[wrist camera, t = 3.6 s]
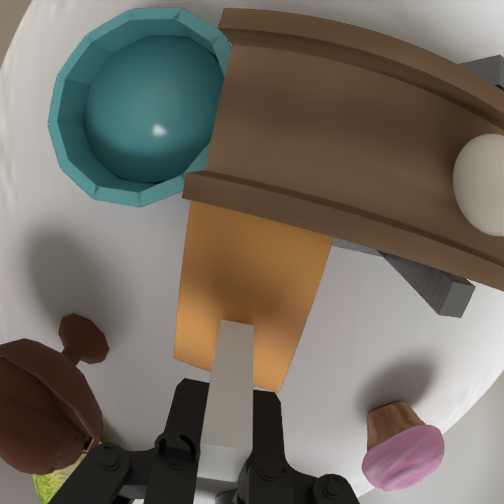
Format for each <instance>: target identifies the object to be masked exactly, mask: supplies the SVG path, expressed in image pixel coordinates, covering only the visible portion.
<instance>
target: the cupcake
mask: <svg viewBox="0 0 504 504" xmlns="http://www.w3.org/2000/svg"><path fill="white" fill-rule="evenodd" d="M367 431H368V432H367V433H368V436H367V438H368V441H367V453H366V455H365V457H364V459H363V463H362V471H363V473H364V475H365V477H366V478H367V479H368V481H369V482H370V483H371V484H372V485H373V486H375V487H376V488H380V489H383V490H384V491H392V490H398V489H403V488H406V487H409V486H412V485H414V484H416V483H418V482H420V481H421V480H422V479H423V478H425V477H426V476H428V475H429V474H430V473H432V472H433V471H434V470H436V468H437V467H438V466H439V465H440V463H441V461H442V458H443V455H444V440H443V437H442V434H441V432H440V430H439V429H438V428H436V427H435V426H432V425H426V424H425V423H424V422H423V421H422V420H420V419H419V417H418V416H417V415H416V413H415V412H414V411H413V410H412V409H411V408H410V407H409V405H408V404H407V403H405V402H395V403H392V404H389V405H386V406H383V407H380V408H377V409H375V410H373V411H371V412H370V413H369V415H368V417H367Z"/></svg>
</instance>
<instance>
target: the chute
mask: <svg viewBox="0 0 504 504" xmlns="http://www.w3.org/2000/svg"><path fill="white" fill-rule="evenodd" d="M219 29H220V30H221V31H222V33H223V34H224V35H225V36H226V37H227V38H228V39H229V41H230V42H231V43H232V44H233V46H232V50H231V54H230V58H229V62H228V66H227V70H226V74H225V78H224V82H223V87H222V91H221V95H220V100H219V104H218V109H217V113H216V118H215V123H214V128H213V132H212V137H211V142H210V147H209V152H208V158H207V163H206V168H205V170H202V171H195V172H188V173H186V176H185V182H184V188H183V194H182V198H184V199H188V200H191V206H190V213H189V219H188V226H187V233H186V240H185V248H184V256H183V264H182V272H181V281H180V290H179V300H178V310H177V321H176V332H175V345H174V358H175V359H177V360H180V361H182V362H185V363H187V364H190V365H193V366H196V367H198V368H201V369H204V370H207V371H210V372H212V367H213V361H214V356H215V350H216V345H217V339H218V334H219V329H220V323H221V319H222V320H228V321H233V322H238V323H244V324H249V325H254V348H253V386H256V387H260V388H263V389H267V390H271V391H274V392H278V393H279V390H280V388H281V386H282V383H283V381H284V378H285V376H286V373H287V371H288V368H289V366H290V363H291V361H292V358H293V356H294V353H295V350H296V348H297V345H298V342H299V340H300V337H301V334H302V332H303V329H304V326H305V323H306V321H307V318H308V315H309V312H310V309H311V306H312V304H313V301H314V298H315V295H316V292H317V289H318V286H319V283H320V280H321V277H322V274H323V271H324V267H325V264H326V261H327V258H328V255H329V252H330V248H331V245H332V242H333V238H334V237H335V238H338V239H342V240H345V241H348V242H352V243H355V244H359V245H362V246H366V247H369V248H372V249H376V250H379V251H382V252H386V253H389V254H392V255H395V256H399V257H402V258H405V259H408V260H411V261H415V262H418V263H421V264H424V265H427V266H430V267H433V268H436V269H440V270H443V271H446V272H449V273H452V274H455V275H458V276H461V277H464V278H467V279H469V280H472V281H475V282H478V283H481V284H484V285H487V286H490V287H493V288H495V289H498V290H501V291H504V236H493V235H489V234H486V233H484V232H482V231H480V230H478V229H477V228H476V227H474V226H473V225H472V224H471V223H470V222H469V221H468V220H467V219H466V217H465V216H464V215H463V213H462V211H461V210H460V208H459V206H458V203H457V201H456V198H455V194H454V189H453V170H454V165H455V162H456V159H457V157H458V155H459V153H460V151H461V150H462V149H463V147H464V146H465V145H466V144H467V143H468V142H469V141H471V140H472V139H474V138H475V137H478V136H480V135H484V134H498V135H503V136H504V91H503V90H501V89H499V88H498V87H496V86H495V85H493V84H491V83H490V82H488V81H486V80H485V79H483V78H481V77H480V76H478V75H476V74H474V73H472V72H471V71H469V70H467V69H465V68H463V67H461V66H459V65H457V64H455V63H453V62H451V61H449V60H447V59H445V58H443V57H441V56H438V55H436V54H434V53H432V52H429V51H427V50H425V49H422V48H420V47H417V46H415V45H412V44H410V43H407V42H404V41H402V40H399V39H396V38H393V37H390V36H387V35H384V34H381V33H378V32H375V31H371V30H368V29H364V28H361V27H357V26H353V25H349V24H345V23H341V22H337V21H332V20H328V19H323V18H317V17H312V16H306V15H300V14H293V13H286V12H277V11H267V10H255V9H236V8H224V11H223V14H222V17H221V21H220V24H219Z"/></svg>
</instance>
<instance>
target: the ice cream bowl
mask: <svg viewBox="0 0 504 504" xmlns="http://www.w3.org/2000/svg"><path fill="white" fill-rule="evenodd" d="M58 333H59V336H60V338H61V341H62V343H63V345H64V347H65V348H64V350H63V351H62V353H60V352H58V351H55V350H53V349H51V348H49V347H47V346H45V345H43V344H41V343H39V342H37V341H33V340H28V339H20V340H16V341H12V342H9V343H5V344H2V345H0V457H1V458H2V459H3V460H4V461H5V462H6V463H8V464H9V465H11V466H12V467H14V468H15V469H17V470H18V471H20V472H24V473H30V474H36V475H46V474H51V473H53V472H54V471H55V470H62V469H64V468H66V467H68V466H70V465H73V464H75V463H76V462H77V460H78V459H79V458H80V456H81V455H82V454H88V452H89V451H90V450H91V449H92V448H93V447H95V446H96V445H98V444H99V443H100V439H101V433H102V427H103V423H102V412H101V409H100V407H99V405H98V403H97V401H96V399H95V397H94V394H93V393H92V391H91V389H90V387H89V385H88V383H87V381H86V379H85V377H84V375H83V373H82V372H81V371H80V370H79V369H78V368H77V367H76V365H77V364H78V362H79V361H80V360H81V361H83V362H86V363H88V364H93V363H99V362H102V361H103V360H105V357H106V355H107V353H108V351H109V348H108V345H107V342H106V339H105V336H104V334H103V333H102V332H101V331H100V330H99V329H98V328H97V327H96V326H95V325H94V324H93V323H92V322H91V321H90V320H88V319H86V318H83V317H81V316H78V315H76V314H72V315H69V316H66V317H63V318H62V321H61V324H60V328H59V332H58Z"/></svg>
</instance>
